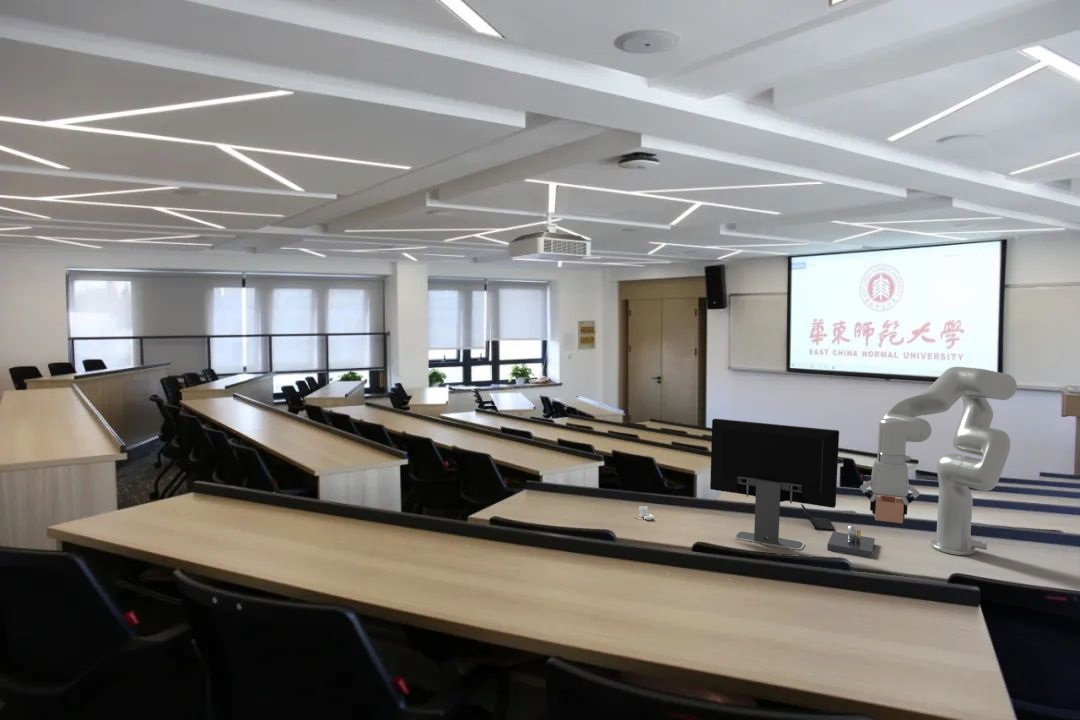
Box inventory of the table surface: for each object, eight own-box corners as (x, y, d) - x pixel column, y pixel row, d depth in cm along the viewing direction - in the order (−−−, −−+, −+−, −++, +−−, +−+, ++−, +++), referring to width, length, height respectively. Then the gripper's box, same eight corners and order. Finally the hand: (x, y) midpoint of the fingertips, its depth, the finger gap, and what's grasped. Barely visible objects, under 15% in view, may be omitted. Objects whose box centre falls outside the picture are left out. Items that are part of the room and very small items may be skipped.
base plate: (874, 544, 224) (875, 523, 223) (871, 557, 212) (872, 536, 211) (832, 536, 231) (833, 517, 230) (827, 549, 219) (828, 529, 218)
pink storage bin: (873, 513, 210) (874, 494, 210) (900, 516, 207) (901, 497, 207) (875, 520, 204) (876, 501, 203) (902, 523, 201) (903, 503, 200)
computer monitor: (834, 548, 220) (840, 429, 216) (831, 556, 213) (836, 433, 209) (712, 526, 241) (715, 417, 237) (705, 533, 233) (708, 421, 230)
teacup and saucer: (655, 522, 246) (656, 511, 246) (634, 521, 246) (634, 511, 246) (652, 514, 255) (652, 504, 255) (631, 514, 255) (631, 504, 255)
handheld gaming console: (841, 527, 236) (821, 501, 237) (823, 540, 237) (803, 514, 238) (829, 520, 249) (810, 496, 250) (812, 532, 249) (793, 508, 250)
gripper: (921, 458, 204) (918, 514, 205) (858, 453, 211) (856, 507, 212) (925, 464, 197) (921, 522, 199) (860, 458, 204) (857, 514, 205)
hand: (888, 514), depth 205 cm, fingers closed on pink storage bin, 7 cm apart
